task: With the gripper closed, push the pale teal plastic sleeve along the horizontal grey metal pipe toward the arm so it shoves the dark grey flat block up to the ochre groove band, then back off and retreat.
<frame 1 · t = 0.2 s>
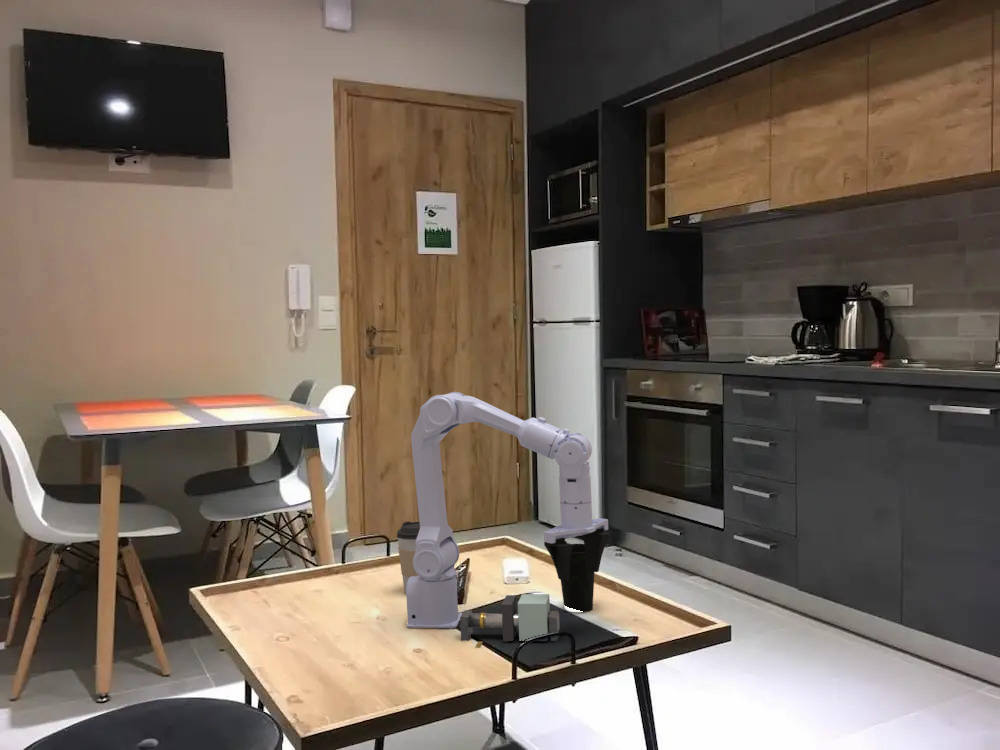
hand: (578, 575, 158), 10 cm above the table, fingers open, 7 cm apart
dark grey flat block: (509, 617, 155), point 4 cm above the table, slide at 0.0 cm
sleeve: (534, 617, 155), point 4 cm above the table, slide at 4.5 cm
cup: (578, 609, 171), on the table
pipe: (510, 637, 156), on the table
coffee cup: (420, 592, 187), on the table
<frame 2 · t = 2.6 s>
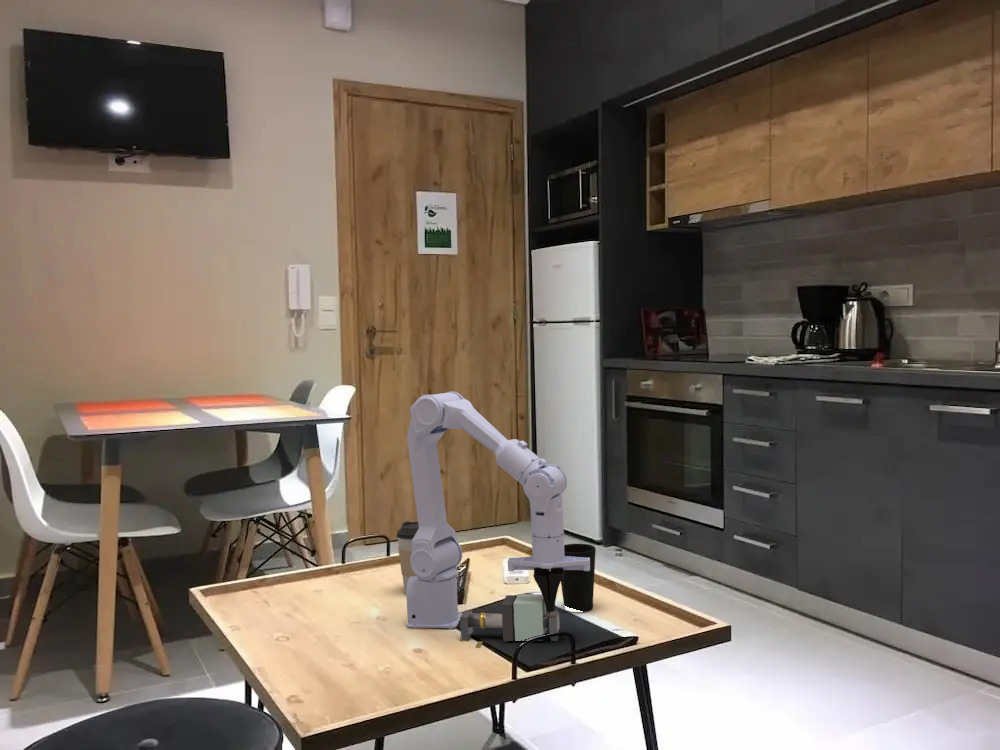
hand: (550, 610, 154), 5 cm above the table, fingers closed
sleeve: (530, 617, 155), point 4 cm above the table, slide at 3.7 cm, touching gripper
everything else where it was.
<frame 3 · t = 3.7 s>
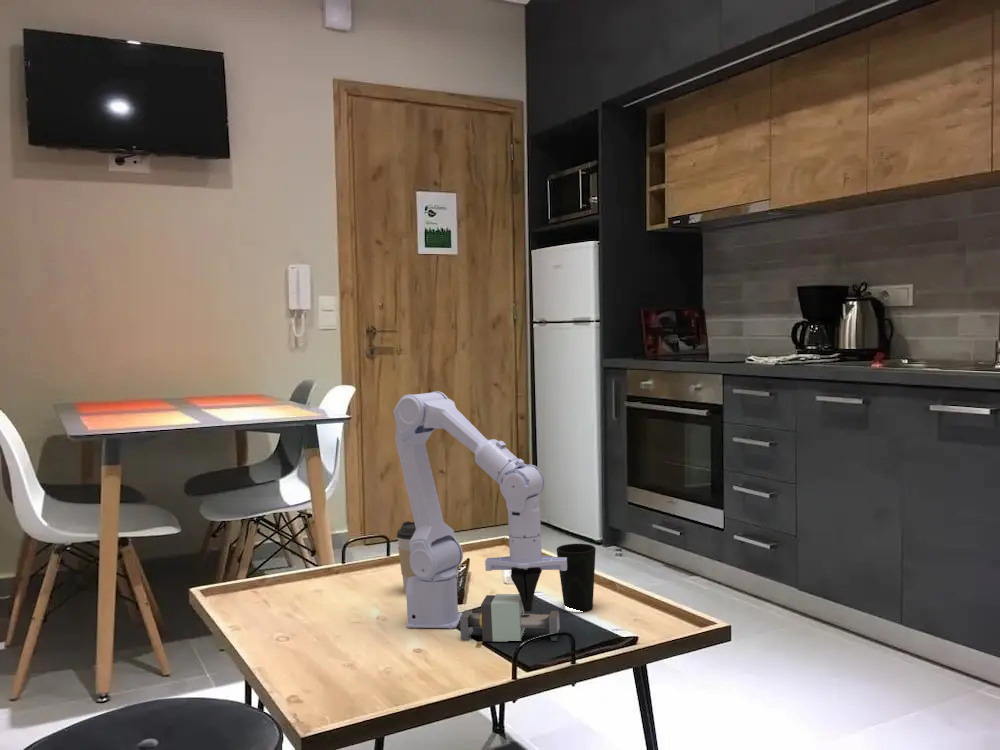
hand: (528, 609, 155), 5 cm above the table, fingers closed
dark grey flat block: (489, 617, 156), point 4 cm above the table, slide at -3.7 cm, touching sleeve
sleeve: (508, 617, 156), point 4 cm above the table, slide at -0.3 cm, touching gripper, dark grey flat block
everything else where it was.
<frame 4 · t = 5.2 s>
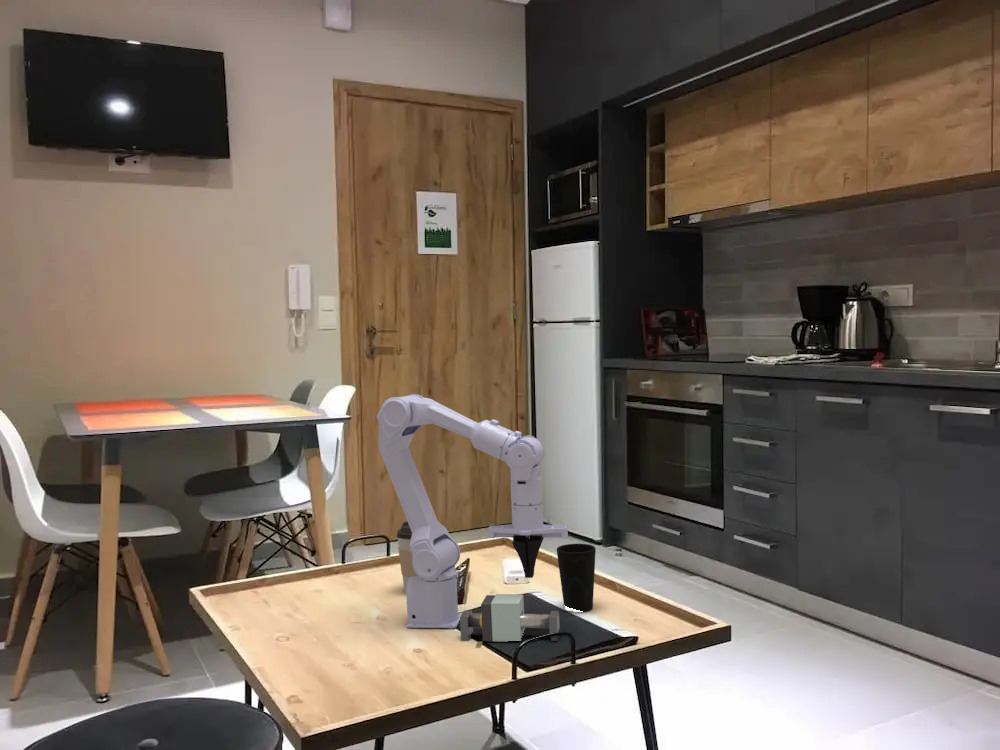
hand: (529, 576, 159), 10 cm above the table, fingers closed
sleeve: (508, 617, 156), point 4 cm above the table, slide at -0.3 cm, touching dark grey flat block
everything else where it was.
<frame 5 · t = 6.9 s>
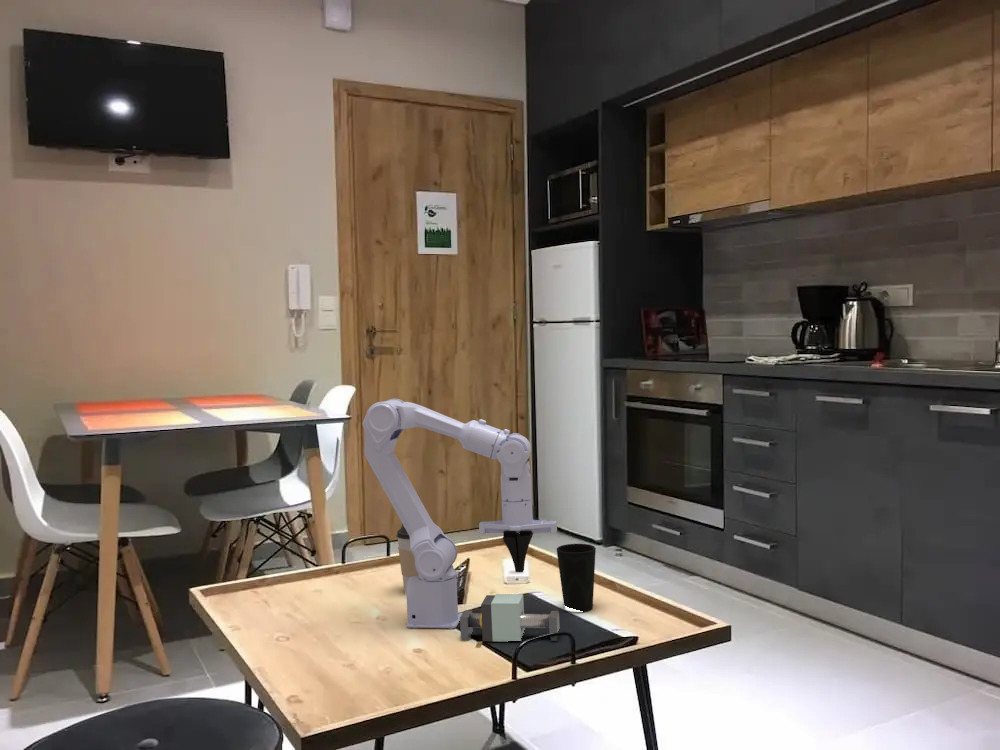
hand: (519, 570, 163), 10 cm above the table, fingers closed
nothing on the table moved.
at the end: dark grey flat block slide at -3.7 cm; sleeve slide at -0.3 cm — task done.
